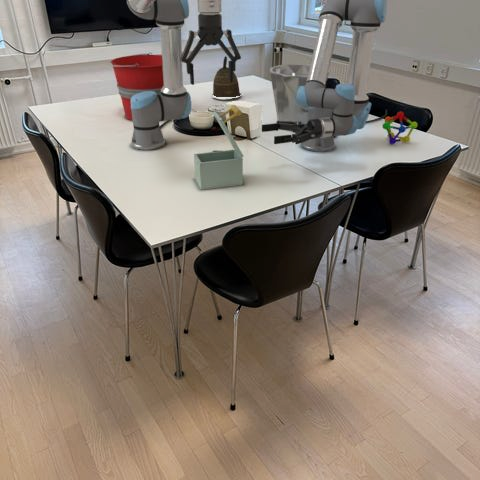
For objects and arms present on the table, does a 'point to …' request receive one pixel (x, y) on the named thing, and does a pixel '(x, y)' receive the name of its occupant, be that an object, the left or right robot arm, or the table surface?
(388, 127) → the educational toy
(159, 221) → the table surface
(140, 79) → the bucket
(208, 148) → the table surface
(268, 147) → the table surface
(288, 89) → the bucket
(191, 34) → the left robot arm
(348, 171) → the table surface
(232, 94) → the bell
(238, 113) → the lid
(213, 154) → the chest
